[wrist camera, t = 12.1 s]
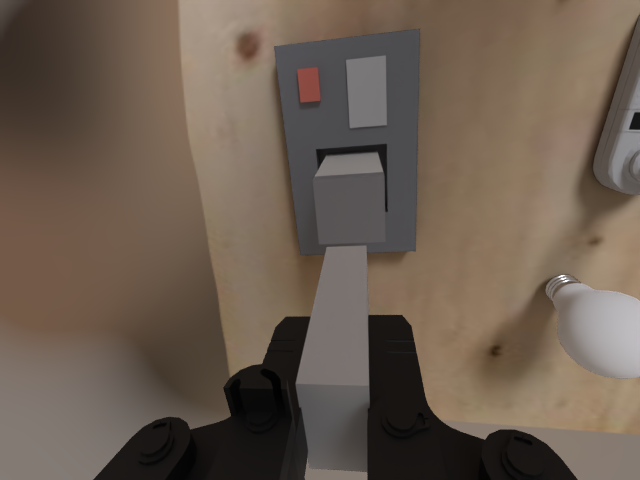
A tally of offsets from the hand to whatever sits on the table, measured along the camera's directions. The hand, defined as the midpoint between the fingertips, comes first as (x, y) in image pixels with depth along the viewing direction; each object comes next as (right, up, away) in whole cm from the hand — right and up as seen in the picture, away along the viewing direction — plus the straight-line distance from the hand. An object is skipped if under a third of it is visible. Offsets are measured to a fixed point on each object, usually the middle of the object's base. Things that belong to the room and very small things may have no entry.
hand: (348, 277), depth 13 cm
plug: (+2, +7, +18) cm, 20 cm away
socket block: (+2, +9, +18) cm, 20 cm away
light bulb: (+22, -3, +21) cm, 31 cm away
